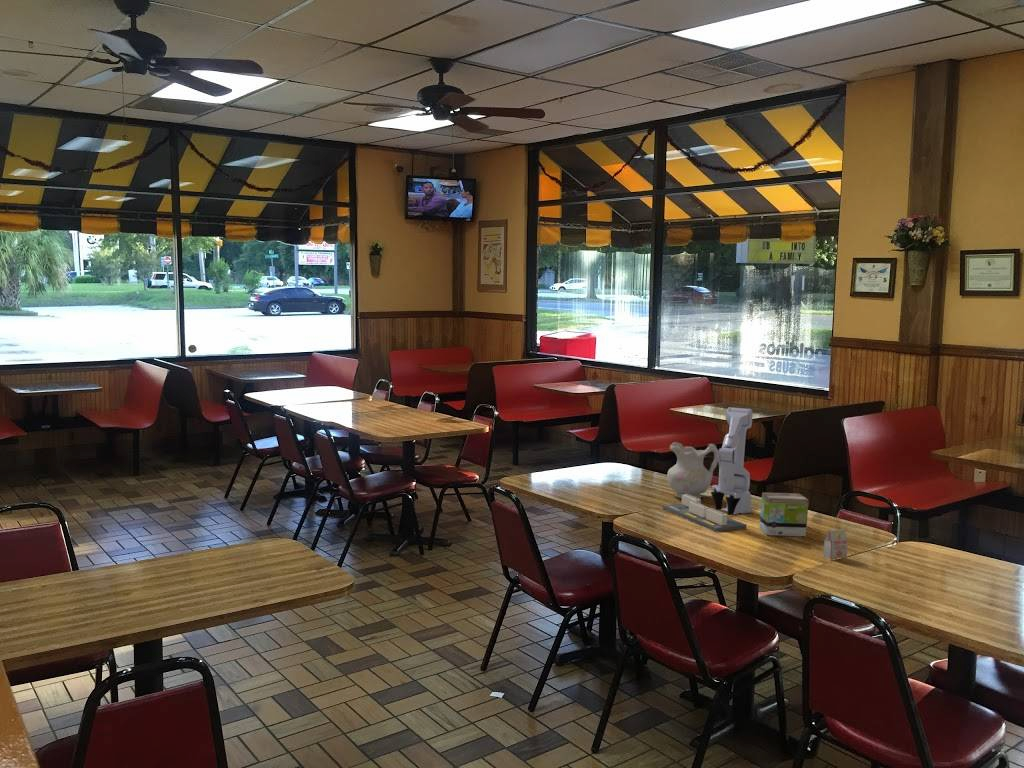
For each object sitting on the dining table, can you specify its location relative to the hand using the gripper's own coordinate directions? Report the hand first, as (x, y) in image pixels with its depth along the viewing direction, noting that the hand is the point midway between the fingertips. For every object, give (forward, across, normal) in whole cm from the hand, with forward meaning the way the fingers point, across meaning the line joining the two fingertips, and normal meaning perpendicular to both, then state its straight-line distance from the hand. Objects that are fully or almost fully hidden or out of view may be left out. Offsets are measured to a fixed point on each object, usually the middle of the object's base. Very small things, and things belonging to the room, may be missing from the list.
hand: (724, 512), depth 337 cm
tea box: (+6, +16, +15) cm, 23 cm away
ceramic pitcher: (+6, -43, +15) cm, 46 cm away
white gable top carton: (+6, +47, +11) cm, 49 cm away
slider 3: (+4, 0, -4) cm, 5 cm away
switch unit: (+5, -12, -2) cm, 13 cm away
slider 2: (+4, -11, -4) cm, 13 cm away
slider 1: (+4, -23, +1) cm, 23 cm away
